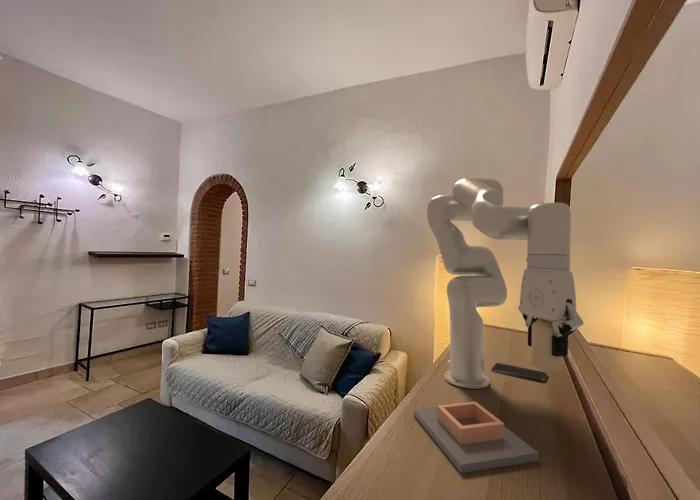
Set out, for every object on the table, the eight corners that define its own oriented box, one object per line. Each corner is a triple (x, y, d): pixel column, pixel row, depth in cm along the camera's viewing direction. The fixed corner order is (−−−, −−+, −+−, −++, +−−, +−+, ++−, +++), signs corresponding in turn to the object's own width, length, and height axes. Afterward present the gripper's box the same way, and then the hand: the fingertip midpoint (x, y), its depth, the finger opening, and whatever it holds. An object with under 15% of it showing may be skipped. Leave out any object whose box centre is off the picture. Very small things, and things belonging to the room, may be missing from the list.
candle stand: (414, 415, 75) (414, 396, 75) (474, 408, 78) (474, 390, 78) (460, 473, 55) (460, 447, 55) (538, 461, 59) (538, 436, 59)
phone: (544, 380, 94) (490, 369, 103) (544, 384, 94) (490, 372, 103) (547, 372, 100) (496, 362, 109) (547, 376, 100) (496, 365, 109)
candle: (567, 373, 62) (568, 322, 62) (537, 370, 63) (537, 321, 63) (555, 363, 68) (556, 316, 68) (527, 361, 69) (528, 315, 69)
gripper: (503, 261, 73) (502, 339, 73) (569, 265, 56) (568, 367, 56) (531, 261, 75) (530, 338, 75) (603, 265, 58) (602, 364, 58)
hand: (546, 349), depth 66 cm, fingers closed on candle, 5 cm apart
